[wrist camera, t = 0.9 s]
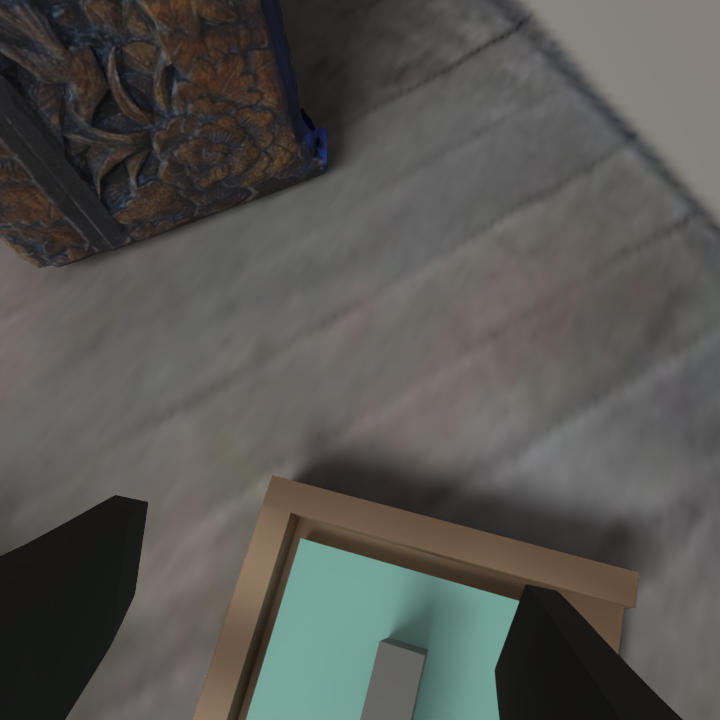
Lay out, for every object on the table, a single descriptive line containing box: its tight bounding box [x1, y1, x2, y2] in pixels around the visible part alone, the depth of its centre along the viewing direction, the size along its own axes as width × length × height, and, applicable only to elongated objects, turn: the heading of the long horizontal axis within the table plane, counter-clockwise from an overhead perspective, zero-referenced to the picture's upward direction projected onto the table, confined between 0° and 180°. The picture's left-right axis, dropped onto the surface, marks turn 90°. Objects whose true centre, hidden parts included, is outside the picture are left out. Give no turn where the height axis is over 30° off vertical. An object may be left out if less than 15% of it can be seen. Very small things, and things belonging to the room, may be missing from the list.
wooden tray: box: [192, 475, 640, 720], centre depth 22 cm, size 14×14×2 cm
